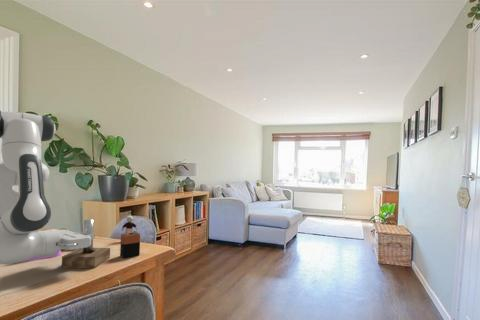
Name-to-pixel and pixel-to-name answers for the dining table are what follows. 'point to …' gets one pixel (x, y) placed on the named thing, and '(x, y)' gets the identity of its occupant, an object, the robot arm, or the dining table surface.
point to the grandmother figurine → (129, 225)
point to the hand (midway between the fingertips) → (90, 235)
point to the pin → (88, 230)
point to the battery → (130, 244)
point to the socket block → (85, 258)
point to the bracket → (44, 257)
